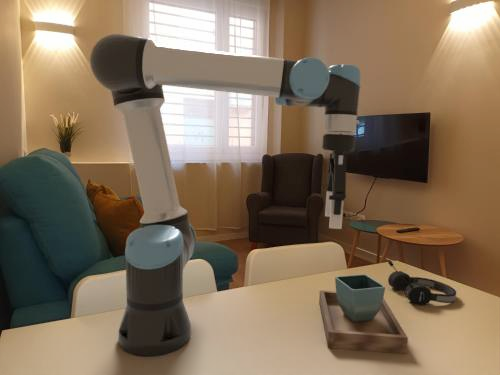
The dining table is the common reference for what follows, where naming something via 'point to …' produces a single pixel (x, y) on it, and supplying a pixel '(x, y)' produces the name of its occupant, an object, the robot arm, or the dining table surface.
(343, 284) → the flower pot
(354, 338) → the holder tray
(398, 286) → the headset
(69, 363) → the dining table surface
